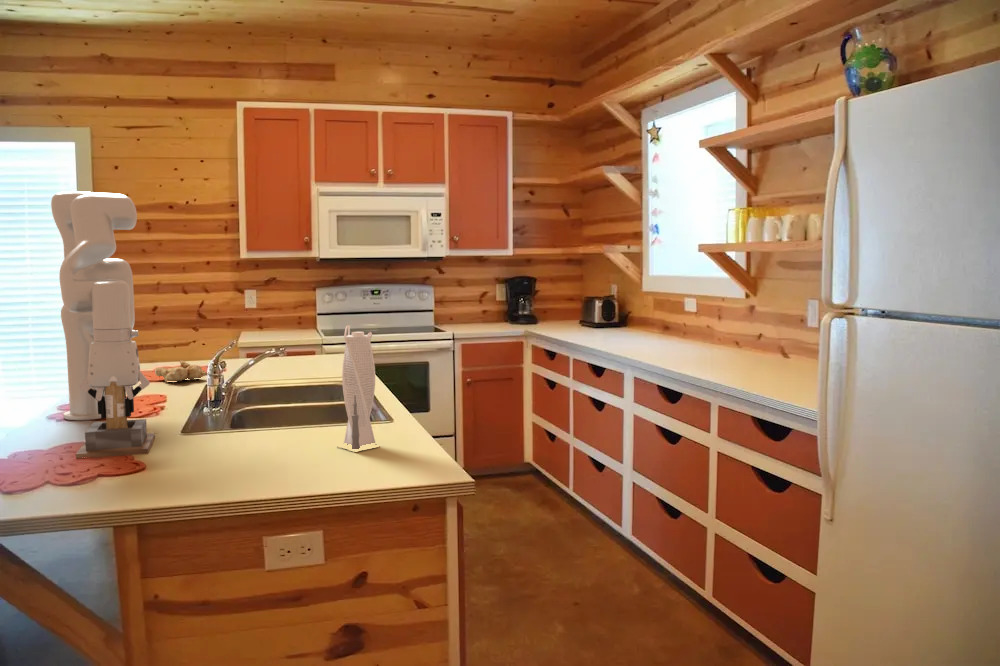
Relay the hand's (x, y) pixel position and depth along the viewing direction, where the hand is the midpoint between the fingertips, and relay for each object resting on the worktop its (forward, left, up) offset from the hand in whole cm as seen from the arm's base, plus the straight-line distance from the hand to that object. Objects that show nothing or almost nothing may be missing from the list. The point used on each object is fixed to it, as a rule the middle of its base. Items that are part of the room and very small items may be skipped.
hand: (116, 415), depth 169 cm
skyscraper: (+16, +52, -7) cm, 55 cm away
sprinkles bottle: (0, 0, -4) cm, 4 cm away
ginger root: (-93, +8, -8) cm, 94 cm away
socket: (0, 0, -8) cm, 8 cm away
